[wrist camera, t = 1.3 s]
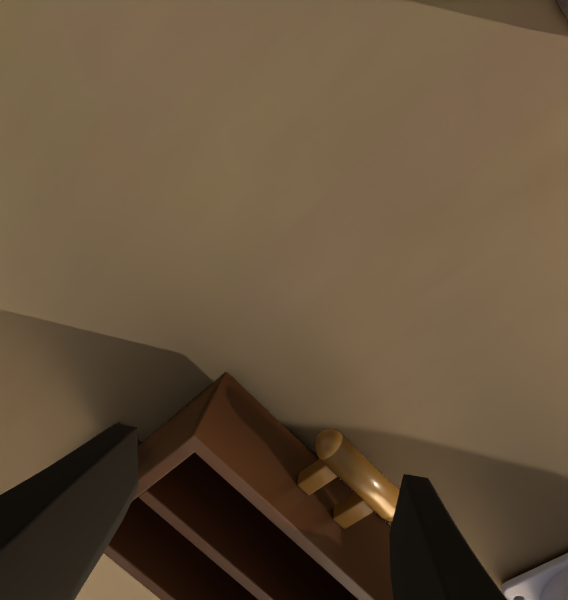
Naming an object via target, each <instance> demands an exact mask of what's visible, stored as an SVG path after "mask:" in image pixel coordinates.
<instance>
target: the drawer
mask: <svg viewBox="0 0 568 600" xmlns="http://www.w3.org/2000/svg"><path fill="white" fill-rule="evenodd" d="M314 447H315V452H316V454H317V456H318V457H319V458H320V459H318V458H317V457H316V456H314V455H313V454H312V453H311V452H310V451H309V450H308V449H307V448H306V447H305V446H304V445H303V444H302V443H301V442H300V441H299V440H298V439H297V438H296V437H295V436H294V435H292V434H291V433H290V432H289V431H288V430H287V429H286V428H285V427H284V426H283V425H282V424H281V423H280V422H279V421H278V420H277V419H276V418H275V417H274V416H273V415H272V414H270V413H269V412H268V411H267V410H266V409H265V408H264V407H263V406H262V405H261V404H260V403H259V402H258V401H257V400H256V399H255V398H254V397H253V396H252V395H251V394H250V393H248V392H247V391H246V390H245V389H244V388H243V387H242V386H241V385H240V384H239V383H238V382H237V381H236V380H235V379H234V378H233V377H232V376H231V375H230V374H229V373H228V372H225V373H224V374H223V375H221V376H220V377H219V378H218V379H217V380H216V381H214V382H213V383H212V384H211V385H210V386H208V387H207V388H206V389H205V390H204V391H203V392H201V393H200V394H199V395H198V396H197V397H196V398H194V399H193V400H192V401H191V402H190V403H188V404H187V405H186V406H185V407H184V408H183V409H181V410H180V411H179V412H178V413H177V414H176V415H174V416H173V417H172V418H171V419H170V420H168V421H167V422H166V423H165V424H164V425H163V426H161V427H160V428H159V429H158V430H157V431H155V432H154V433H153V434H152V435H151V436H150V437H148V438H147V439H146V440H145V441H144V442H143V443H141V444H140V445H139V446H138V484H139V486H138V488H137V491H136V493H135V495H134V497H133V500H132V502H131V504H130V506H129V508H128V510H127V512H126V515H125V517H124V519H123V521H122V523H121V524H120V526H119V528H118V529H117V531H116V533H115V534H114V536H113V538H112V539H111V541H110V543H109V544H108V546H107V548H106V549H105V551H104V552H103V553H104V554H105V555H107V556H108V557H109V558H110V559H112V560H113V561H114V562H115V563H116V564H118V565H119V566H120V567H121V568H123V569H124V570H125V571H126V572H128V573H129V574H130V575H131V576H132V577H134V578H135V579H136V580H137V581H139V582H140V583H141V584H142V585H143V586H145V587H146V588H147V589H148V590H150V591H151V592H152V593H153V594H155V595H156V596H157V597H158V598H159V599H161V600H394V599H393V591H392V583H391V575H390V540H389V533H390V527H389V526H388V525H387V524H386V523H385V522H384V521H383V520H382V519H380V518H379V517H378V516H377V515H376V514H375V513H374V511H375V512H376V513H377V514H378V515H379V516H380V517H382V518H383V519H385V520H387V521H391V522H392V520H393V516H394V512H395V508H396V504H397V500H398V495H399V490H398V489H397V488H396V487H395V486H394V485H393V484H392V483H391V482H390V481H389V480H388V479H387V478H386V477H385V476H384V475H383V474H382V473H381V472H380V471H379V470H378V469H377V468H376V467H375V466H374V465H373V464H372V463H370V462H369V461H368V460H367V459H366V458H365V457H364V456H363V455H362V454H361V453H360V452H359V451H358V450H357V449H356V448H355V447H354V446H353V445H352V444H351V443H350V442H349V441H348V440H347V439H346V438H345V437H344V436H343V435H342V434H341V433H339V432H338V431H336V430H332V429H328V430H324V431H322V432H321V433H320V434H319V435H318V436H317V438H316V440H315V444H314ZM337 476H339V477H340V478H341V479H342V480H343V481H344V482H345V483H346V484H347V485H348V486H349V487H350V488H351V489H352V490H353V491H354V492H355V493H353V492H352V491H351V490H350V489H349V488H348V487H347V486H346V485H345V484H344V483H343V482H342V481H341V480H340V479H339V478H338V477H337Z"/></svg>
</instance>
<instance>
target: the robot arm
mask: <svg viewBox="0 0 568 600" xmlns="http://www.w3.org/2000/svg"><path fill="white" fill-rule="evenodd" d="M138 486H139V484H138V446H137V427H133V426H127V425H121V424H114V425H113V426H111V427H110V428H108V429H106V430H105V431H103V432H102V433H100V434H99V435H97V436H96V437H94V438H93V439H91V440H90V441H88V442H87V443H85V444H84V445H82V446H81V447H79V448H78V449H76V450H74V451H73V452H71V453H70V454H68V455H67V456H65V457H63V458H62V459H60V460H59V461H57V462H56V463H54V464H53V465H51V466H49V467H48V468H46V469H44V470H43V471H41V472H39V473H38V474H36V475H34V476H32V477H31V478H29V479H27V480H26V481H24V482H22V483H20V484H19V485H17V486H15V487H14V488H12V489H10V490H8V491H7V492H5V493H3V494H1V495H0V600H74V599H75V598H76V596H77V595H78V593H79V591H80V590H81V588H82V586H83V585H84V583H85V582H86V580H87V578H88V577H89V575H90V573H91V572H92V570H93V569H94V567H95V565H96V564H97V562H98V561H99V559H100V557H101V556H102V554H103V552H104V551H105V549H106V548H107V546H108V544H109V543H110V541H111V539H112V538H113V536H114V534H115V533H116V531H117V529H118V528H119V526H120V524H121V523H122V521H123V519H124V517H125V515H126V512H127V510H128V508H129V506H130V504H131V502H132V500H133V497H134V495H135V493H136V491H137V488H138ZM389 540H390V575H391V583H392V591H393V599H394V600H507V599H508V600H568V553H566V554H564V555H562V556H560V557H558V558H555V559H553V560H551V561H549V562H547V563H545V564H543V565H540V566H538V567H536V568H534V569H532V570H530V571H528V572H525V573H523V574H521V575H519V576H517V577H515V578H513V579H510V580H508V581H506V582H505V583H503V585H502V591H503V594H504V595H503V594H502V593H501V591H500V590H499V589H498V587H497V586H496V584H495V583H494V582H493V580H492V579H491V577H490V576H489V575H488V573H487V572H486V570H485V569H484V567H483V566H482V565H481V563H480V562H479V560H478V559H477V557H476V556H475V554H474V553H473V551H472V550H471V548H470V547H469V545H468V543H467V542H466V540H465V539H464V537H463V536H462V534H461V533H460V531H459V529H458V528H457V526H456V525H455V523H454V521H453V520H452V518H451V516H450V515H449V513H448V511H447V510H446V508H445V506H444V504H443V503H442V501H441V499H440V497H439V496H438V494H437V492H436V490H435V489H434V487H433V485H432V483H431V482H430V480H429V479H428V478H424V477H419V476H413V475H407V474H404V475H403V479H402V483H401V487H400V491H399V495H398V500H397V504H396V508H395V512H394V516H393V520H392V524H391V528H390V533H389ZM504 596H505V597H506V598H507V599H506V598H505V597H504Z"/></svg>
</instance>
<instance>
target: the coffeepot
mask: <svg viewBox="0 0 568 600" xmlns="http://www.w3.org/2000/svg"><path fill="white" fill-rule="evenodd" d="M556 2H557V3H558V5H559V7H560V8H561V10H562V11H563V12H564V13H565V15H566V18H567V20H568V0H556Z"/></svg>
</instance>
